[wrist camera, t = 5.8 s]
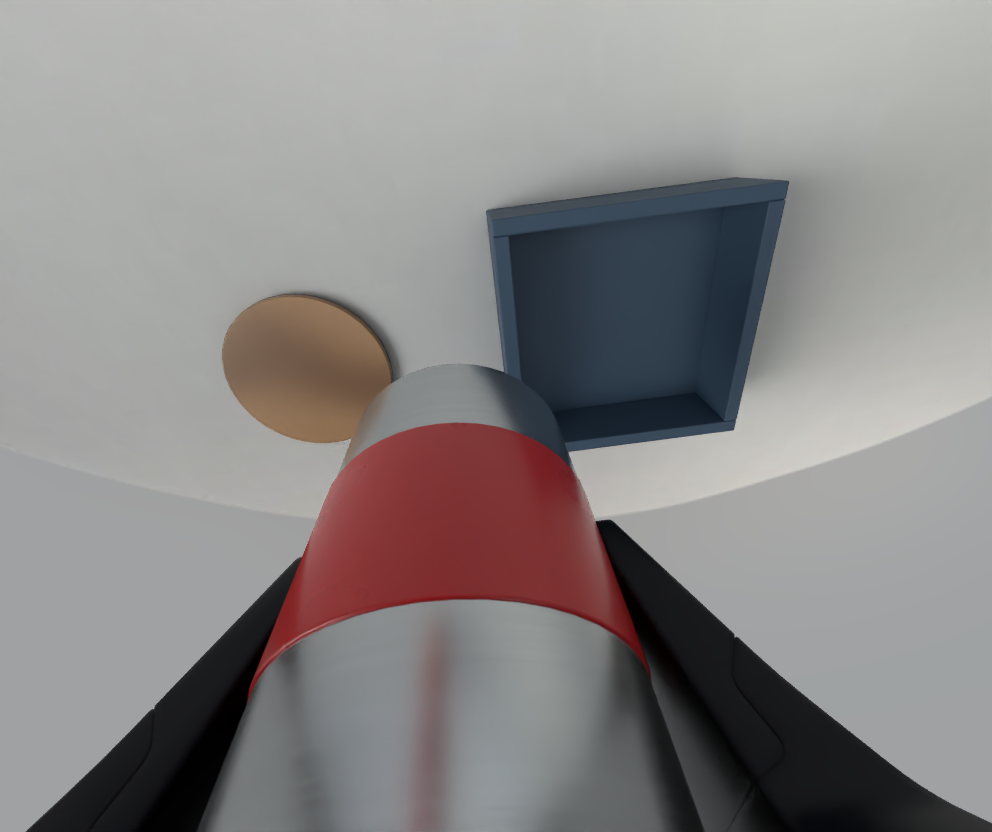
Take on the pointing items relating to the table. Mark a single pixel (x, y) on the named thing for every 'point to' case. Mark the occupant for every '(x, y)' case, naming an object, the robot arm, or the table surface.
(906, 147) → the table surface
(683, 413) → the crate
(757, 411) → the table surface
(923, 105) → the table surface
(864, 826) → the robot arm
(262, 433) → the table surface
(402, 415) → the can
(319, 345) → the coaster
